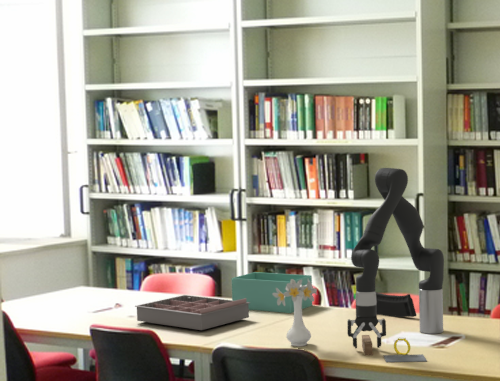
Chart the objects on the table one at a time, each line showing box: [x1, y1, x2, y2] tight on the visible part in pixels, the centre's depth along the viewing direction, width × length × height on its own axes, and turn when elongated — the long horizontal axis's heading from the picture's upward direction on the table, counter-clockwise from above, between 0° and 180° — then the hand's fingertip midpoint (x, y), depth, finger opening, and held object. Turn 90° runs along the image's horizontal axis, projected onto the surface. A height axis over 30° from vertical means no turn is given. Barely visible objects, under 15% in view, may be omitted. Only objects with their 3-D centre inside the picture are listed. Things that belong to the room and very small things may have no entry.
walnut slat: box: [361, 334, 374, 356], centre depth 318 cm, size 14×3×4 cm, turn 177°
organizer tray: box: [134, 294, 250, 331], centre depth 381 cm, size 32×40×10 cm
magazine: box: [376, 291, 417, 318], centre depth 383 cm, size 17×3×30 cm
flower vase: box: [272, 279, 318, 347], centre depth 330 cm, size 13×18×25 cm
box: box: [231, 271, 313, 314], centre depth 411 cm, size 21×32×14 cm, turn 58°
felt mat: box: [383, 353, 428, 363], centre depth 304 cm, size 9×14×1 cm, turn 87°
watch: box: [393, 336, 412, 355], centre depth 311 cm, size 6×3×6 cm, turn 52°
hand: (367, 347), depth 318 cm, fingers open, 7 cm apart
